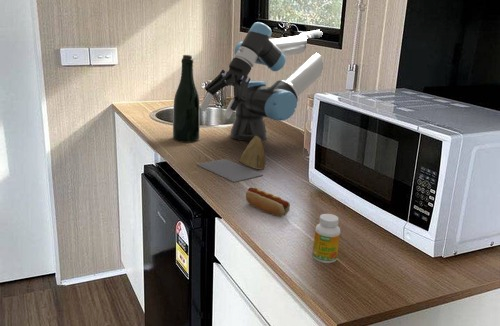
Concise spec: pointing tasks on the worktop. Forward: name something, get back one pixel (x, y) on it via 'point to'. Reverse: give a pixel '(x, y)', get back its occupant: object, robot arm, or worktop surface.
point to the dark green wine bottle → (186, 105)
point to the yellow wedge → (254, 154)
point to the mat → (229, 170)
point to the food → (267, 202)
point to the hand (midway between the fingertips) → (213, 113)
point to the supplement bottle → (326, 239)
